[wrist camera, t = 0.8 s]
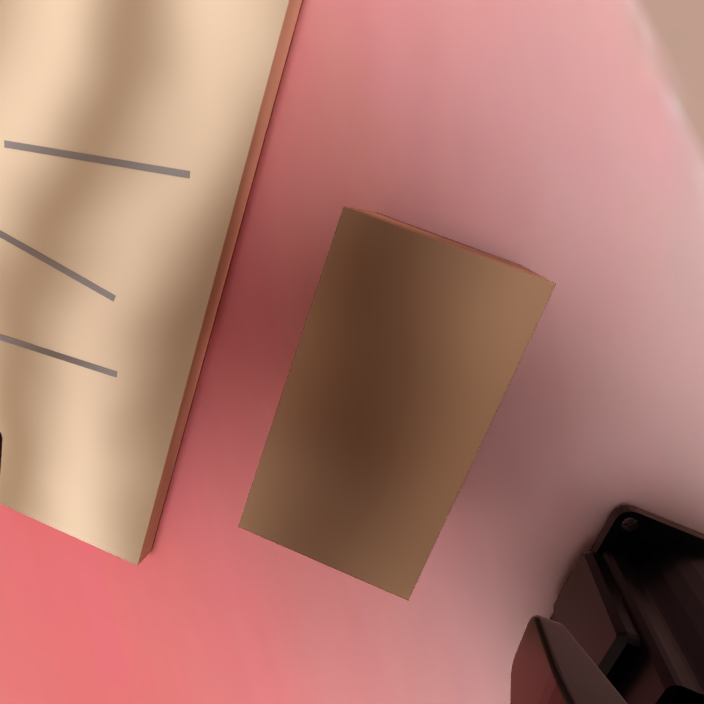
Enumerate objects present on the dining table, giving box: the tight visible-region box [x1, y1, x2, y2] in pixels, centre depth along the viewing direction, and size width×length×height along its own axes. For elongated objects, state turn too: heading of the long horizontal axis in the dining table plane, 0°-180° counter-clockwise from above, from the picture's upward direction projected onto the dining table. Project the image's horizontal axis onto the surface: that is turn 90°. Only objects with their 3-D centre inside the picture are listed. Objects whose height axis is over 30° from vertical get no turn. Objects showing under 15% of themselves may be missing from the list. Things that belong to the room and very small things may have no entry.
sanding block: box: [238, 207, 556, 600], centre depth 16 cm, size 5×9×6 cm, turn 161°
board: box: [0, 0, 302, 566], centre depth 19 cm, size 12×22×1 cm, turn 161°
